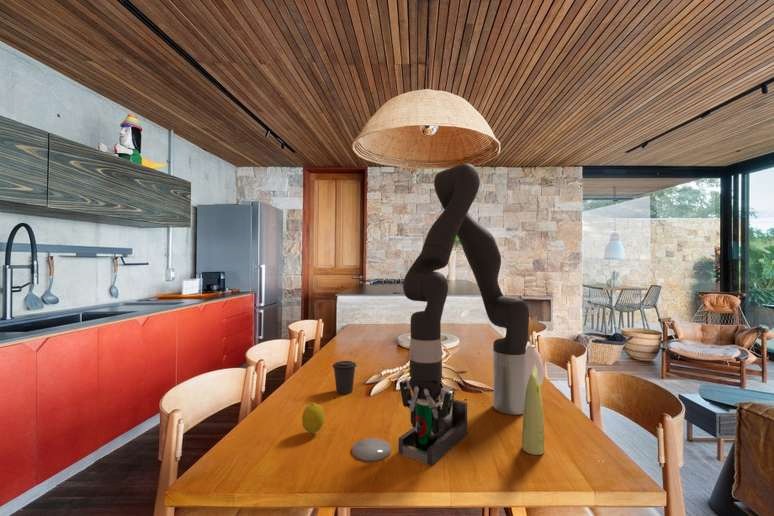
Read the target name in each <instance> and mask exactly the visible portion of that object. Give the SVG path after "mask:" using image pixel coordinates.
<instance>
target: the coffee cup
mask: <svg viewBox="0 0 774 516" xmlns="http://www.w3.org/2000/svg"><path fill="white" fill-rule="evenodd" d="M356 367H357V364H356V362H354V361H351V360H340V361H337V362H334V363H333V365H332V368H333V370H334V371H333V372H334V380H335V381H334V382H335V390H336V394H338V395H343V396H345V395H349V394H352V393H353V389H354V381H355V371H356Z"/></svg>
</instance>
